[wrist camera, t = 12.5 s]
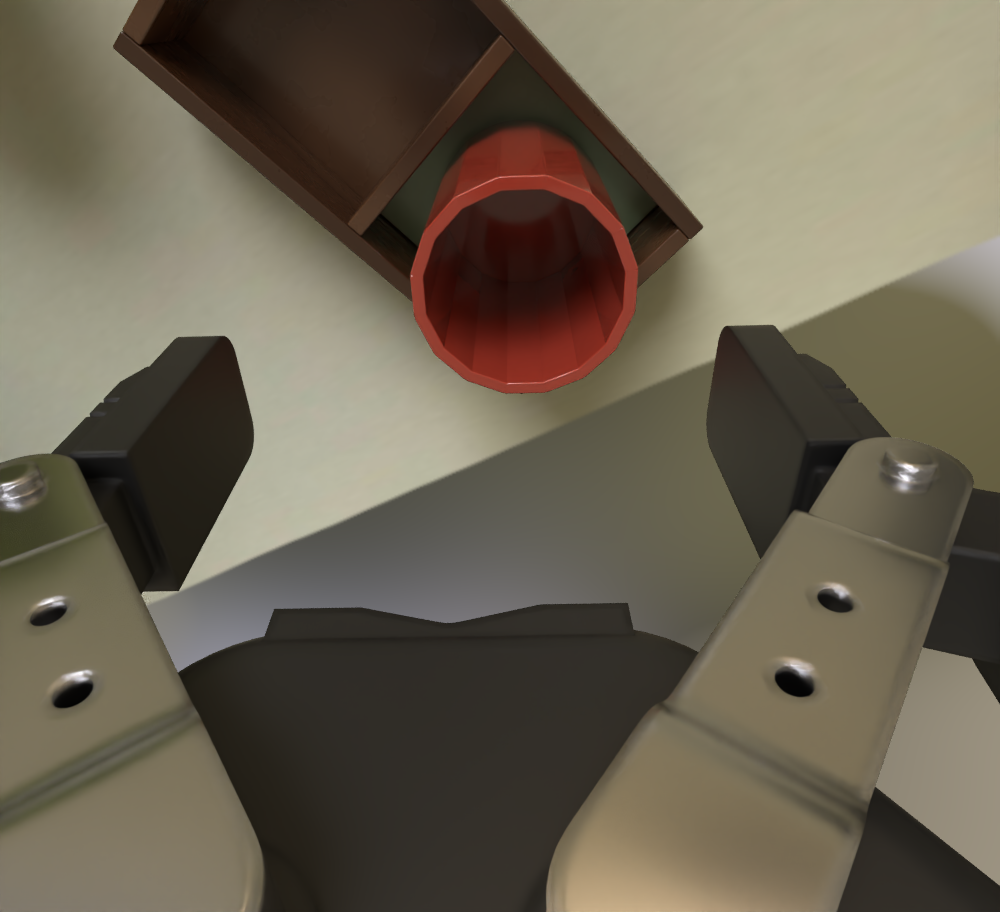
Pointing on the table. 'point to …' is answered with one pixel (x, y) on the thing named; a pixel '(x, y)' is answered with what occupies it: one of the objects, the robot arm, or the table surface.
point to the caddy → (384, 109)
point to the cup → (523, 262)
